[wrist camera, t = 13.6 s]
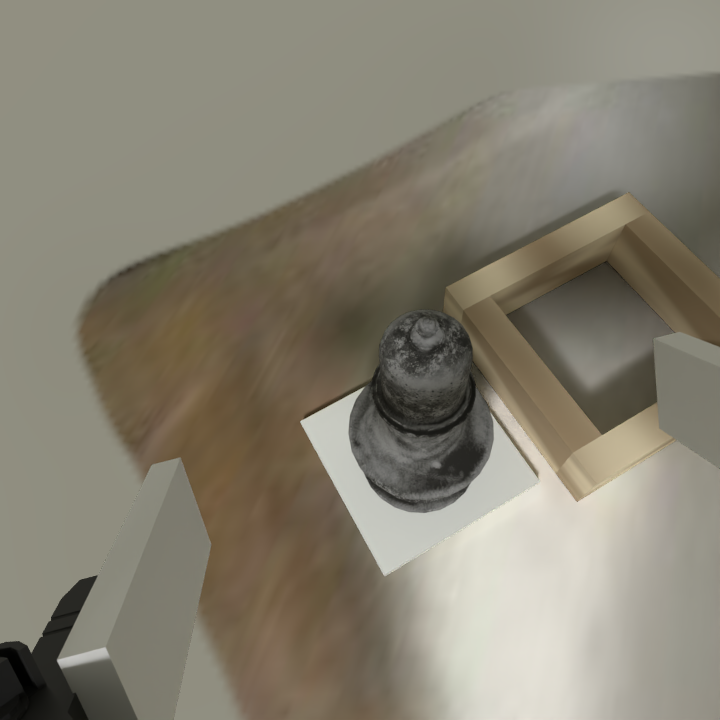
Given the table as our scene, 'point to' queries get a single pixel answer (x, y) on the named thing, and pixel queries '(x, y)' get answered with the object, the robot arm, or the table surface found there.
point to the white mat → (398, 527)
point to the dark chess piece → (422, 415)
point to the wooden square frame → (530, 374)
